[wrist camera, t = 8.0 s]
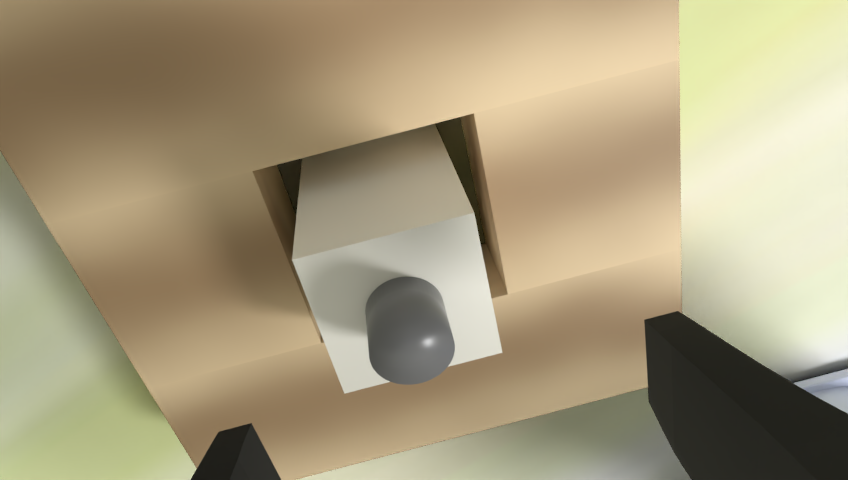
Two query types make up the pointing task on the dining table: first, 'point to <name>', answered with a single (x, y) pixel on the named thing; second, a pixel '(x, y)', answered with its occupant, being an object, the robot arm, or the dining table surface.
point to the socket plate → (332, 129)
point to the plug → (392, 261)
